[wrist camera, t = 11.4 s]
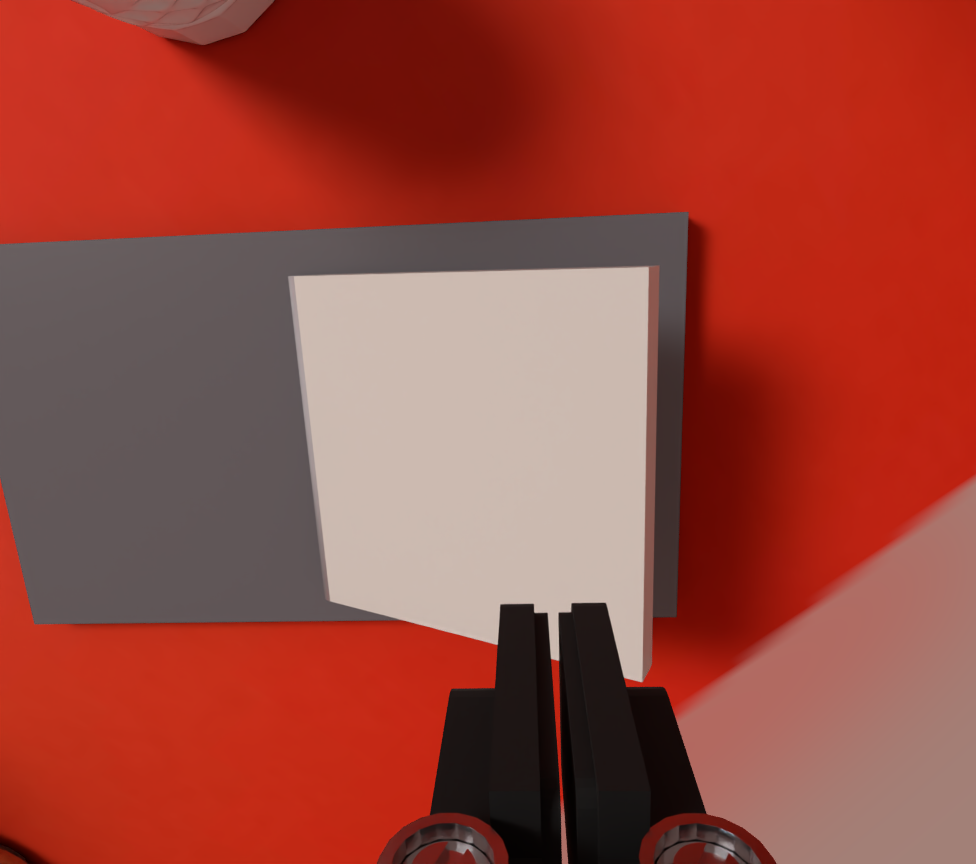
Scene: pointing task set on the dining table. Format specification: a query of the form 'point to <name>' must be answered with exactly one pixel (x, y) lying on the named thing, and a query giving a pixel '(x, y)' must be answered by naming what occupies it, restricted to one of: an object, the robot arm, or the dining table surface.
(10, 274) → the base
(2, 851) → the beer stein
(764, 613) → the dining table surface
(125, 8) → the white cup
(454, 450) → the tile
